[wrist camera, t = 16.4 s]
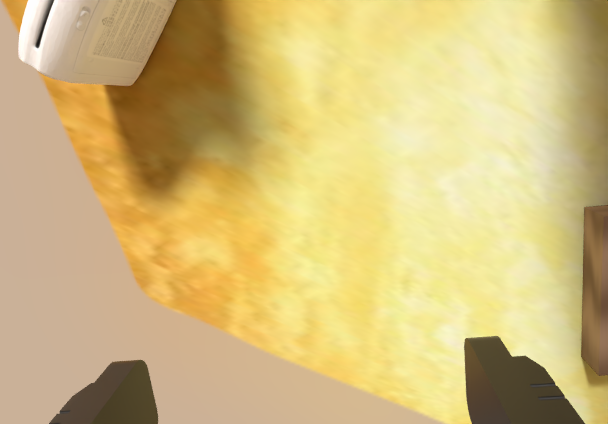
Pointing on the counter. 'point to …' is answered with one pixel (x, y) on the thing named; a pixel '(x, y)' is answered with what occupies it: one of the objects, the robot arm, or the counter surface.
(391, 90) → the counter surface
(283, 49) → the counter surface
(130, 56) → the photo printer
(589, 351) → the socket board
